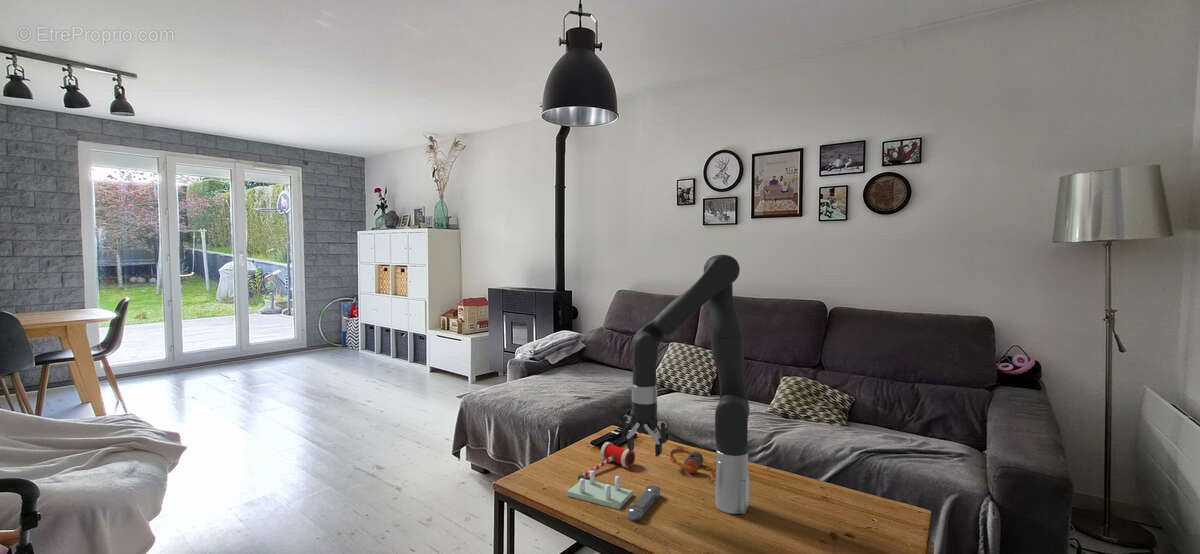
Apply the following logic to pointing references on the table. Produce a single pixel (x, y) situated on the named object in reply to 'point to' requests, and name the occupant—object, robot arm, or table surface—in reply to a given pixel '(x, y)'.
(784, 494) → the table surface
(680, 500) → the table surface
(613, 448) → the toy hammer
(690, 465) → the headphones
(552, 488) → the table surface
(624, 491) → the tool rack
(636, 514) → the grey ball-ended rod
